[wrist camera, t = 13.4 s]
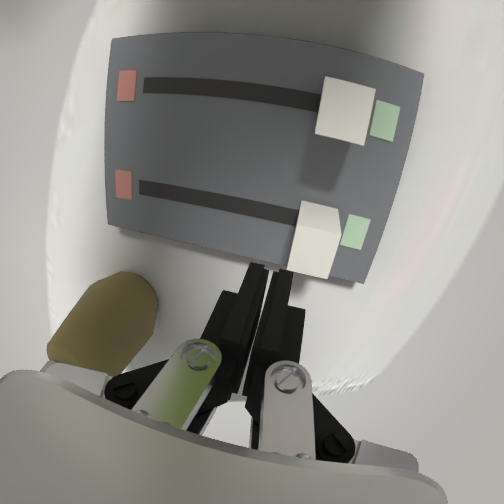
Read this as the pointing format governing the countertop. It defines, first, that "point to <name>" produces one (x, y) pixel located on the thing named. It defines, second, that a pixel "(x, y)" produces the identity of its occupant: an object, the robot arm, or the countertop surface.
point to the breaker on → (344, 110)
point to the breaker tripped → (315, 240)
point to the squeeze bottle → (106, 325)
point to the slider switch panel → (250, 143)
